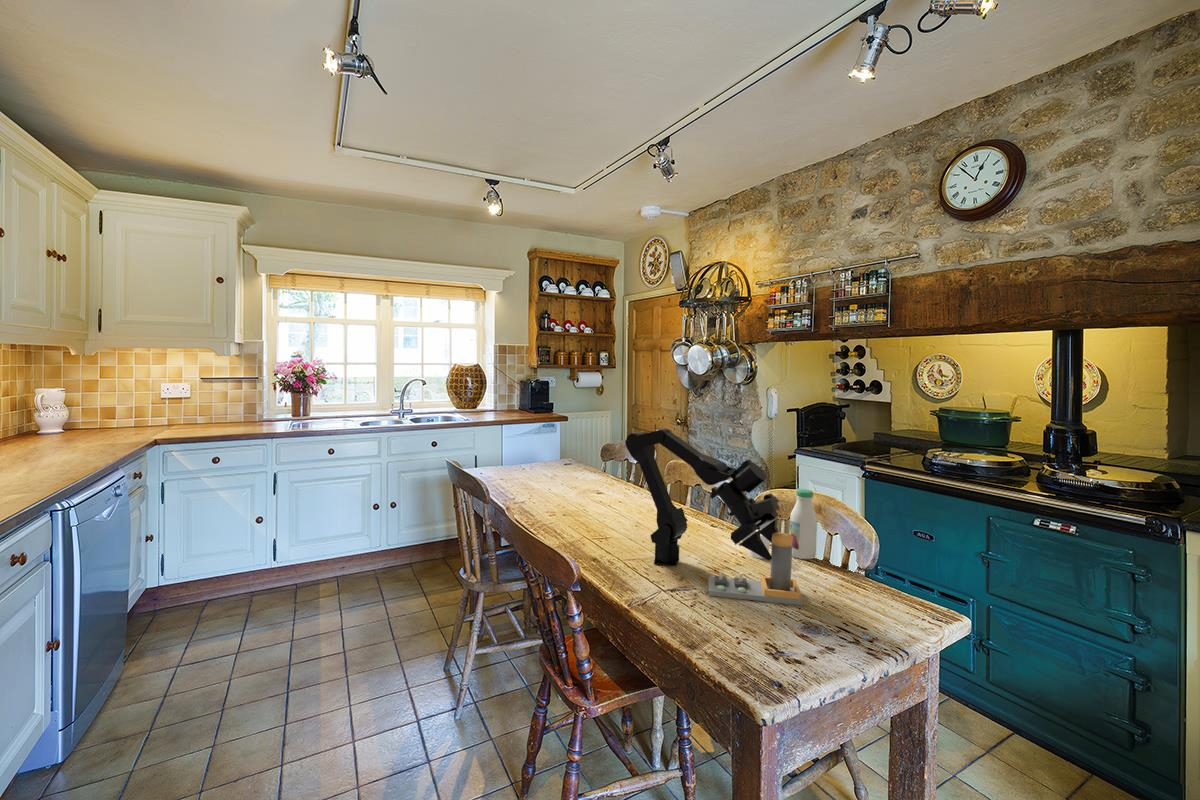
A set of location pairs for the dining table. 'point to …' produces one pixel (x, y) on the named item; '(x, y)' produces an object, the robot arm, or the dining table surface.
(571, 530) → the dining table surface
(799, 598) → the breaker panel
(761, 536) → the white tapered cup
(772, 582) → the grey orange cylinder
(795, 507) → the milk bottle
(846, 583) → the dining table surface
